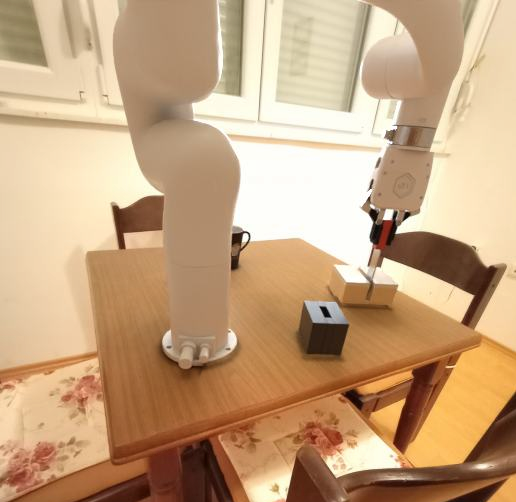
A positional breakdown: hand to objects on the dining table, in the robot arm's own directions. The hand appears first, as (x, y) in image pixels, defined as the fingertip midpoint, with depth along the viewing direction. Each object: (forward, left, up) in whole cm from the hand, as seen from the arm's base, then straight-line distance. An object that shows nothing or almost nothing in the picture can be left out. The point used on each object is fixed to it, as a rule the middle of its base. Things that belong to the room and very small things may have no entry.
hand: (379, 242), depth 66 cm
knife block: (-19, +15, -14) cm, 28 cm away
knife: (0, 0, -10) cm, 10 cm away
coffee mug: (+20, +31, -14) cm, 40 cm away
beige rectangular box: (+3, 0, -14) cm, 14 cm away
